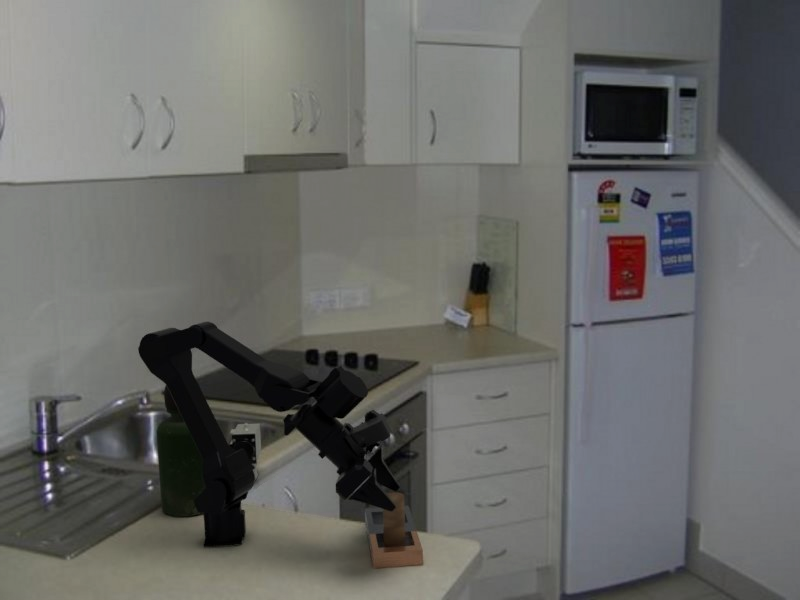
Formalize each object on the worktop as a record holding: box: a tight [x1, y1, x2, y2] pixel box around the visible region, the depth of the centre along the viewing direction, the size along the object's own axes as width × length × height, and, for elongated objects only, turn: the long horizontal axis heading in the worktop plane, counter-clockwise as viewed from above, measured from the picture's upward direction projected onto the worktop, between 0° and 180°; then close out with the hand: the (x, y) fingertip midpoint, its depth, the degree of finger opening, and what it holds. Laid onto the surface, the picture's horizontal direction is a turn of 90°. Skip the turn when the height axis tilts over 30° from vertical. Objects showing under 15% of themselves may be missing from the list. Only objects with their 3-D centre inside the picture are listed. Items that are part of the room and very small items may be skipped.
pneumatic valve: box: [229, 422, 262, 482], centre depth 191 cm, size 6×12×12 cm, turn 2°
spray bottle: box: [156, 381, 206, 517], centre depth 174 cm, size 10×10×25 cm
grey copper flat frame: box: [364, 505, 424, 569], centre depth 157 cm, size 8×20×2 cm, turn 6°
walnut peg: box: [383, 491, 406, 548], centre depth 151 cm, size 4×4×10 cm
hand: (396, 498), depth 151 cm, fingers open, 9 cm apart
